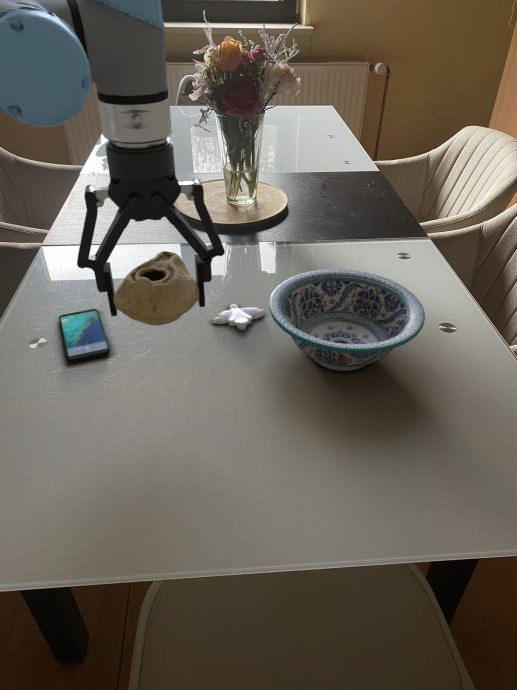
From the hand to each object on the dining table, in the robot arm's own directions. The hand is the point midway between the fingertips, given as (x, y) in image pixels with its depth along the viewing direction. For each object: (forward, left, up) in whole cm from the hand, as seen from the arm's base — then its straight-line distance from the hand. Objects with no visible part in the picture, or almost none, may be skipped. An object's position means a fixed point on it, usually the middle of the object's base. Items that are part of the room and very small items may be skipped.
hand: (158, 306), depth 73 cm
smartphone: (-13, +19, -16) cm, 29 cm away
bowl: (+30, +5, -17) cm, 35 cm away
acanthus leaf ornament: (+15, +19, -17) cm, 30 cm away
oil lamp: (0, 0, -1) cm, 1 cm away
